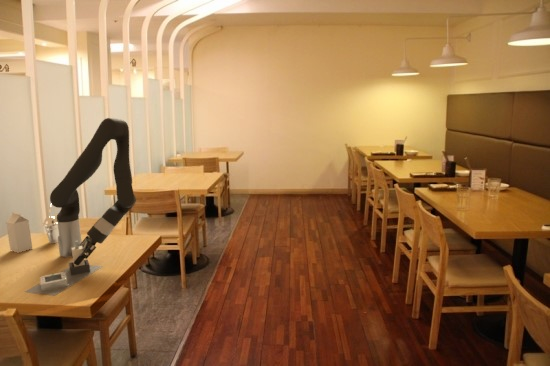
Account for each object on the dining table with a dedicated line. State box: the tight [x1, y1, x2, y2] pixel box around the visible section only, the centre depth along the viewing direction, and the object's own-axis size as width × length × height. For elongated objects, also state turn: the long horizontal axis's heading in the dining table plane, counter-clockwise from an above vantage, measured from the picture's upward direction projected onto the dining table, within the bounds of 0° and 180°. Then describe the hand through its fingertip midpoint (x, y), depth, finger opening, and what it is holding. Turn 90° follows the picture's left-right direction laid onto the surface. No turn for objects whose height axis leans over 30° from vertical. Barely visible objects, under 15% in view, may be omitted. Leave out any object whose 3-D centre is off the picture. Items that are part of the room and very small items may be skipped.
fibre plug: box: [72, 241, 85, 267], centre depth 178 cm, size 4×4×13 cm
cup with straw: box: [42, 203, 59, 244], centre depth 220 cm, size 8×9×20 cm
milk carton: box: [5, 212, 33, 254], centre depth 209 cm, size 7×7×19 cm
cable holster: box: [68, 259, 90, 275], centre depth 179 cm, size 7×7×3 cm
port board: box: [24, 264, 104, 296], centre depth 172 cm, size 14×28×2 cm, turn 165°
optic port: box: [39, 271, 69, 292], centre depth 165 cm, size 9×9×3 cm
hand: (74, 261), depth 178 cm, fingers open, 7 cm apart
